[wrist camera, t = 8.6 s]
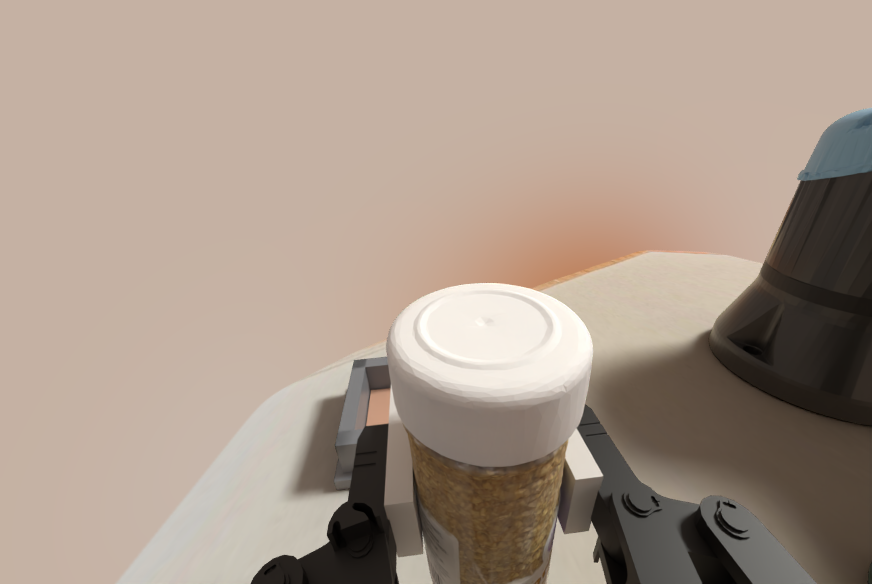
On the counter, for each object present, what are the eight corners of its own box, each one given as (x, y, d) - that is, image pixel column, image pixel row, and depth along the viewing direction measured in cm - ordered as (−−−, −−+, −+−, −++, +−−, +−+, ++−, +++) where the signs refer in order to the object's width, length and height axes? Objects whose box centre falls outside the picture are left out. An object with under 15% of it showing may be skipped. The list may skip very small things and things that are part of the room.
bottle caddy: (533, 367, 34) (536, 336, 32) (582, 459, 25) (590, 423, 23) (356, 387, 33) (348, 356, 31) (336, 489, 24) (324, 454, 22)
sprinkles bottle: (554, 678, 11) (640, 400, 5) (425, 663, 12) (353, 394, 5) (532, 531, 15) (564, 273, 9) (437, 524, 16) (403, 278, 9)
